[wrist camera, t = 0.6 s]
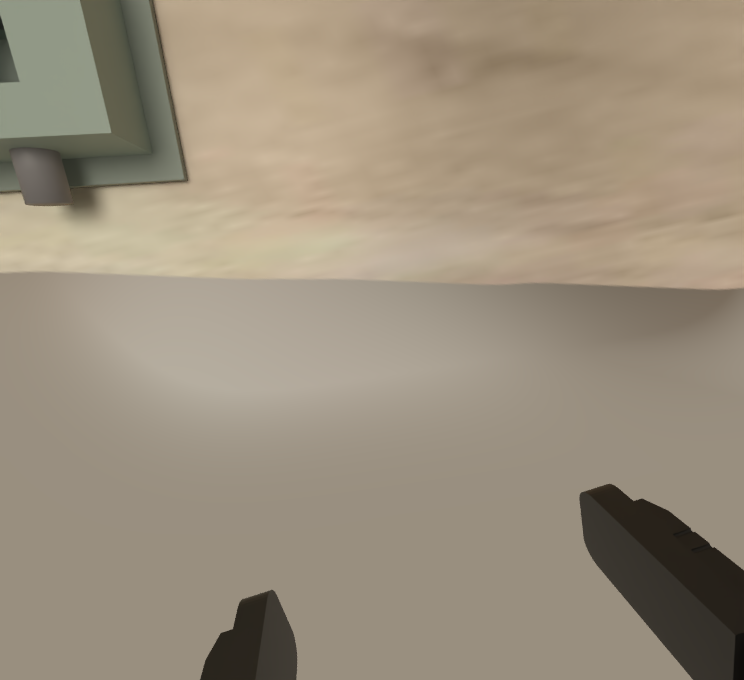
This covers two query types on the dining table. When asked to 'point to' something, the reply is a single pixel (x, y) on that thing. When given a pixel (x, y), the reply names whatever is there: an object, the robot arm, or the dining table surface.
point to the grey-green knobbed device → (83, 99)
